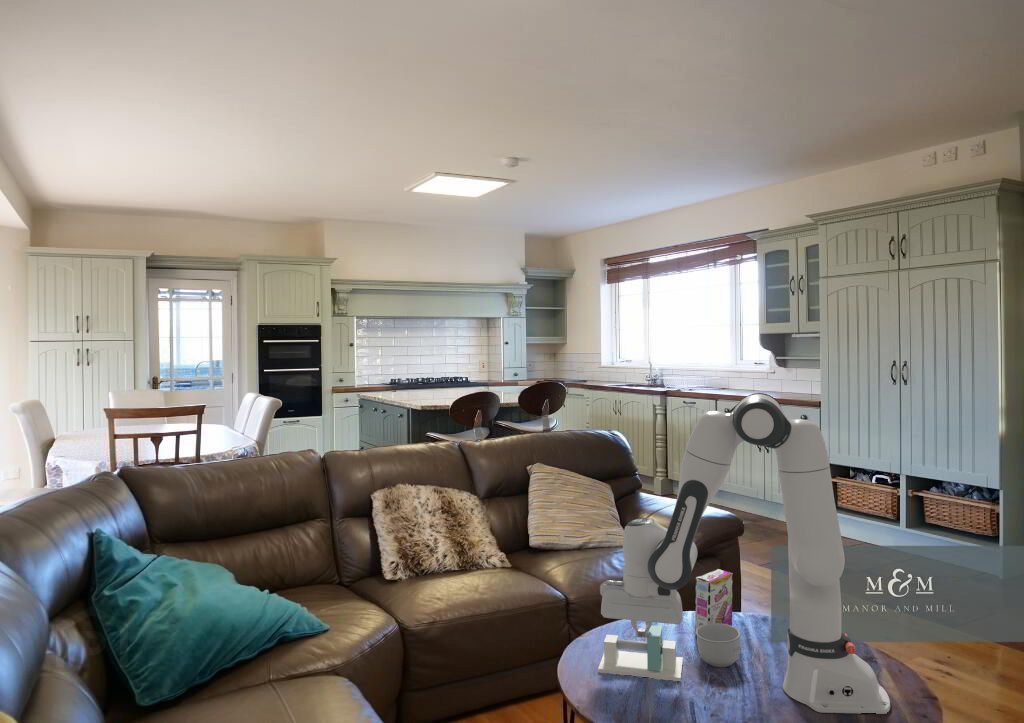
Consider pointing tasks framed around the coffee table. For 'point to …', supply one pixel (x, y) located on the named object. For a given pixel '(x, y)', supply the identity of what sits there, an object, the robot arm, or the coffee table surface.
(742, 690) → the coffee table surface
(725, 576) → the candy bar box
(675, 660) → the pipe stand
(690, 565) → the robot arm
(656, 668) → the collar
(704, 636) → the teacup
